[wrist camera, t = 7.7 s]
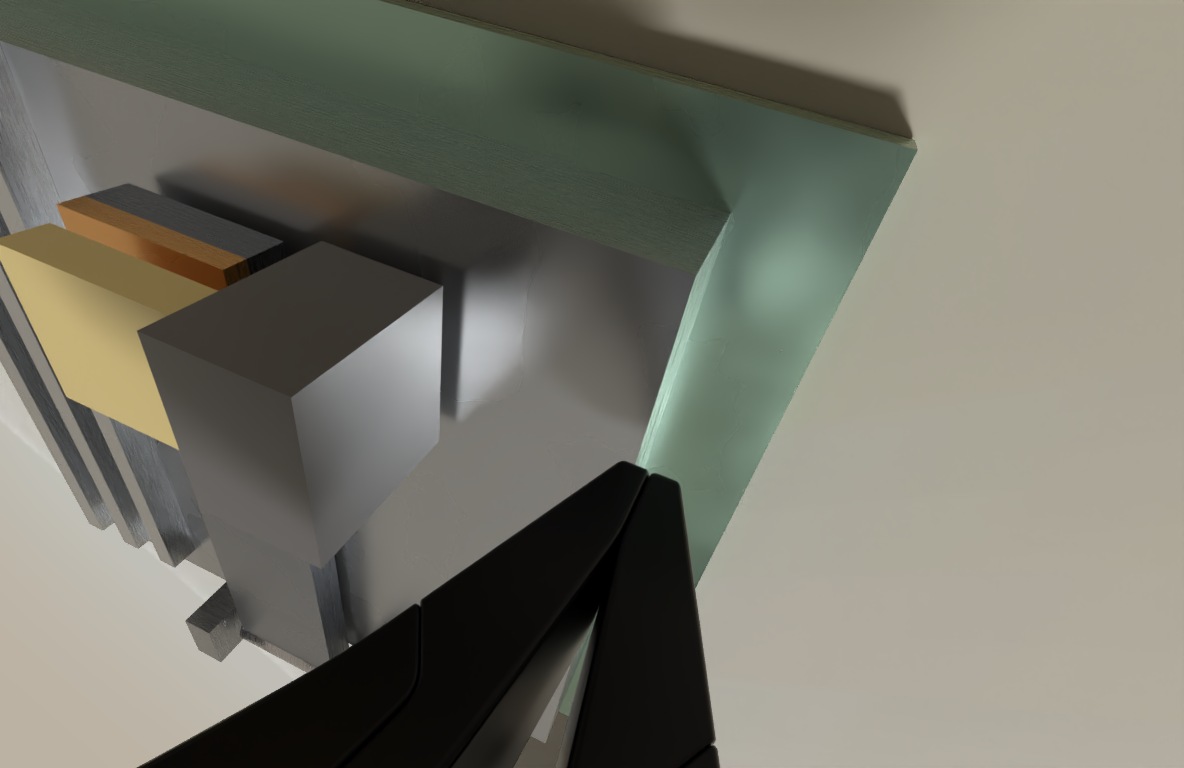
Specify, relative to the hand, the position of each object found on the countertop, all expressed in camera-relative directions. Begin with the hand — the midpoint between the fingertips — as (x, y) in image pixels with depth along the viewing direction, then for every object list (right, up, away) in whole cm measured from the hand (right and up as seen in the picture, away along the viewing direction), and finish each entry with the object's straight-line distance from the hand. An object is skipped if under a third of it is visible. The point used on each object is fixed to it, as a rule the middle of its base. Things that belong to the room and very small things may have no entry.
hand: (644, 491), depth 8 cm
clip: (-5, +3, +2) cm, 6 cm away
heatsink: (-7, +1, +8) cm, 10 cm away
